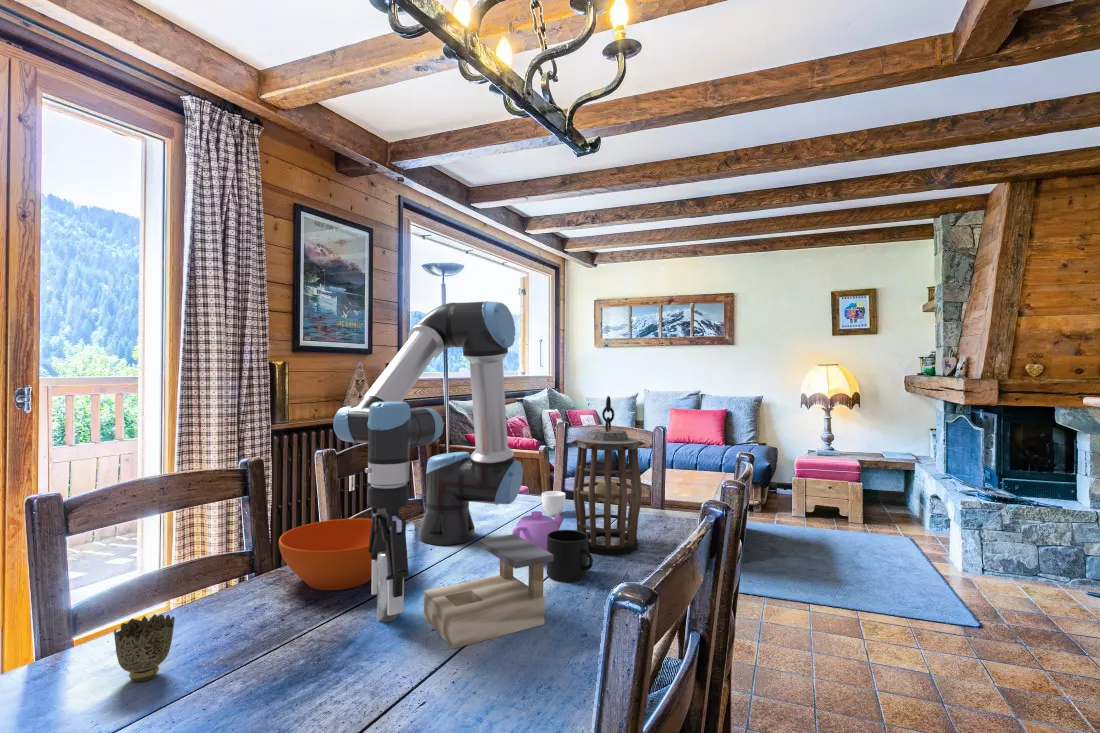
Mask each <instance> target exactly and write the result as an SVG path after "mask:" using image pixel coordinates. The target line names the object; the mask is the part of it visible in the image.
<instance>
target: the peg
mask: <svg viewBox="0 0 1100 733" xmlns="http://www.w3.org/2000/svg"><path fill="white" fill-rule="evenodd" d="M387 576H390V573H389V565H388V558H387V551H382V552H379V553H378V564H377V594H376V620H377V622H378V621H379V622H381V623H384V622H385V623H386V622H391V621H394V620H396V618H397V615H398V614H394V615H388V614H387V605H388V580H386V577H387Z"/></svg>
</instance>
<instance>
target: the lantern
mask: <svg viewBox="0 0 1100 733" xmlns="http://www.w3.org/2000/svg"><path fill="white" fill-rule="evenodd" d="M606 412H607V413H610V412H611V417H609V416H607V417H606V416H605V415H606V414H605V413H606ZM601 416H602V419H603V420H604V422H605V424H604V426H605V428H596V429H595V428H594V429H590V430H589V433H588V434H587V435H588V436H581V437H577V439H575V440H572V441H571V443H572V444H575V445H577V448H578V449H577V459H576V468H575V472H574V482H573V490H572V491H573V504H574V511H575V518H576V531H581V532H584V533H586V534H587V535H588V551H589V552H590V553H591V555H592V554H593V555H598V556H614V557H615V556H616V557H617V556H622V555H629V554H632V553H634V552H635V551H637V550H639V541H638V538H637V537H638V525H639V516H640V512H641V505H642V499H643V498H642V496H643V490H642V479H641V474H640V466H639V463H640V462H639V452H638V451H639V450H638V449H640V447H641V446H643V445H645V444H646V443H645V442H642V440H639V439H638V438H634V437H629V436H628V433H627V431H626V430H624V429H617V428H615V429H614V428H612V421H613V420H614V418H615V411H614V409H613V408H612V402H611V397H610V395H607V396H606V400H605V407H604V408H603V410H602V413H601ZM588 450H590V461H587V454H588V453H587V452H588ZM598 451H604V458H603V460H602V461H599V460H598ZM612 451H617V461H612V460H613V459H612V456H613V455H612V454H613V453H612ZM626 451H627V452H626ZM626 453H627V454H628V455H627V456H628V457H627V456H626ZM627 458H628V463H627V461H626V460H627ZM599 465H604V466H603V467H604V469H597V468H598V466H599ZM587 466H590V468H588V467H587ZM612 466H617V468H618V469H617V470H612ZM586 473H589V481H588V482H585V476H586V475H585V474H586ZM597 474H598V475H604V477H603V478H604V480H603V481H599V482H598V481H597V482H596V479H597V478H596V477H597ZM627 474H629V475H630V476H629V477H630V484H627ZM612 475H618V481H619V482H613V481H612ZM587 487H588V491H584V490H585V488H587ZM628 489H630V492H629V493H628ZM585 497H588V509H589V510H588V511H589V514H588V515H586V507H585V506H586V505H585V503H586V502H585ZM596 499H597V500H599V501H600V502H602V503H603V513H599V514H596ZM628 499H629V506H628ZM611 504H613V505H617V514H612V509H611V508H612V507H611V506H612V505H611ZM627 507H628V508H627ZM627 510H628V511H627ZM627 512H628V514H627ZM600 518H603V528H602V527H597V522H596V520H597V519H600ZM612 519H616V528H612ZM587 520H589V525H587ZM626 521H627V525H626ZM587 530H588V531H587Z"/></svg>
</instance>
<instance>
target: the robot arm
mask: <svg viewBox="0 0 1100 733" xmlns="http://www.w3.org/2000/svg"><path fill="white" fill-rule="evenodd" d="M407 335H408V336H407V337H408V338H407V339H408V340H406V342H405V343H404V345H402V347H401V348H400V349H399V351H398V352H397V353H396V355H394V357H393V358H392V360H391V361H390V362H389V363H388V365H387V366H386V367H385V368H384V370H383V371H382V372H381V373H380V375H379V376H378V377H377V379H376V380H375V382H373V384H372V385H371V387H370V388H368V390H367V391H366V392H365V394H364V395H363V396H362V398H361V399H360V400H359V401H358V403H357V404H356V405H350V406H343V407H341V408H339V409H338V410H337V412H336V413H335V415H334V418H333V431H334V433H335V435H336V438H338V439H339V440H340V441H343V442H349V443H355V444H360V443H361V444H367V445H368V447H367V448H368V449H367V450H368V457H367V468H364V473H366V474H367V482H368V484H369V486H367V491H366V492H367V495H366V496H367V498H366V499H367V500H366V503H367V506H368V507H370V508H371V519H372V520H371V530H370V540H369V549H368V551H369V553H371V558H372V559H373V560H372V579H371V589H370V590H371V592H370V594H371V595H372V596H374V595H377V564H378V553H379V552H382V551H386V550H387V558H388V565H389V573H390V576H387V577H386V580H388V605H387V614H388V615H394V614H397V615H398V614H402V613H404V611H405V609H404V608H405V606H404V605H405V604H404V603H405V602H404V598H405V595H404V594H405V578H407V577H409V574H410V573H409V572H410V571H409V563H408V562H409V559H408V548H407V535H406V534H407V533H406V532H407V531H406V530H407V520H406V519H402V515H401V514H400V508H402V507H405V506H407V505H408V504H409V501H410V500H409V497H410V485H408V482H409V481H410V468H411V467H410V465H411V464H410V449H411V448H415V447H420V446H427V445H429V444H431V443H433V442H436V441H437V440H438V439H439V438H441V435H442V434H443V431H444V421H443V418H442V416H441V415H440V412H438V411H437V410H435V409H433V408H429V407H428V408H427V407H418V408H411V406H410V404H409V403H408V402H406V401H404V400H405V398H406V397H407V396H408V394H409V393H410V391H411V390H412V389H413V387H414V386H415V384H416V383H417V382H418V380H419V379H420V378H421V376H422V374H423V373H424V371H425V370H426V369H427V368H428V366H429V364H430V363H431V362H432V360H433V359H434V358H436V357H439V356H440V355H441V354H442V353H443V352H444V350H447V349H450V348H462V356H463V357H464V358H465V359H466V360H467V361H468V362H469V369H470V371H469V373H470V384H471V385H470V386H471V387H470V388H471V399H472V400H471V401H472V413H473V416H472V417H473V427H474V428H473V431H474V441H475V442H474V443H475V444H474V445H475V449H474V451H473V452H472V453H471V454H470V452H468V451H456V452H447V453H441V454H436V455H433V456H431V457H430V458H428V460H427V464H426V472H425V474H426V503H425V504H426V508H425V513H424V516H423V519H422V522H421V524H420V528H419V537H418V538H419V540H420V541H421V542H423V543H426V544H430V545H435V546H436V545H437V546H446V545H458V544H464V543H467V542H469V541H471V540H473V539H474V538H475V537H476V528H475V524H474V522H473V518H472V515H471V512H470V502H471V503H483V504H491V505H493V504H494V505H497V506H498V505H511V504H512V503H513V502H514V501H516V498H517V497H518V495H519V493H520V490H521V486H522V483H523V477H524V476H523V475H524V467H523V464H522V462H521V461H519V460H515V452H514V451H513V450H512V448H510V447H509V443H508V426H507V413H506V412H507V410H506V394H505V377H504V361H503V360H504V358H506V356H508V354H509V348H510V347H512V346H513V345H514V343H515V337H516V327H515V321H514V318H513V314H512V312H511V310H510V308H509V307H508V306H507V305H506V304H505V303H503V302H497V301H488V300H487V301H471V302H448V303H444V304H442V305H439V306H437V307H436V308H434V309H432V310H430V311H429V312H427V313H426V314H425V315H423V317H421V318H420V319H419V320H418V321H417V322H416V323H415V324H414V325H413V326H412V328H411V329H410V330H409V332H408V334H407Z"/></svg>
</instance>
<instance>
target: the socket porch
mask: <svg viewBox="0 0 1100 733" xmlns="http://www.w3.org/2000/svg"><path fill="white" fill-rule="evenodd" d="M478 543H479V547H480V548H482V549H483V550H485V551H486V552H488V553H489V554H491V555H493V557H494V556H495V557H496V558H498V559H499V575H493V576H490V577H485V578H481V579H480V578H479V579H476V580H475V579H474V580H470V581H469V580H468V581H465V582H464V581H463V582H461V583H455V584H451V585H445V586H440V587H436V588H430V589H426V590H424V591H423V618H424V620H426V621H427V623H428V624H429V625H430V626H431V627H432V628H433V629H434V630H435V631H436V632H437V634H438V635H439V636H441V638H442V640H444V641H445V643H447V644H448V645H449V647H451V649H452V650H454V649H457V648H461V647H464V646H468V645H472V644H476V643H479V642H483V641H486V640H491V639H495V638H497V637H498V638H499V637H501V636H505V635H509V634H513V633H516V632H517V633H518V632H521V631H524V630H527V629H532V628H535V627H536V628H537V627H539V626H542V625H545V613H546V612H545V611H546V610H545V603H546V602H545V599H546V598H545V596H544V568H545V567H544V566H545V565H544V564H545V563H546V564H547V562H551V561H553V556H554V555H553V554H551V553H550V552H548V551H546V550H544V549H542V548H540V547H538V546H536V545H534V544H532V543H531V542H529V541H527V540H525V539H523V538H521V537H519V536H517V535H515V534H512V533H511V534H506V535H501V536H494V537H490V538H489V537H488V538H483V539H479V542H478ZM527 567H528V585H527V584H526V583H524V582H522V581H521V580H520V579H518V578H517V577H516V576H514V569H521V568H527Z"/></svg>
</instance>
